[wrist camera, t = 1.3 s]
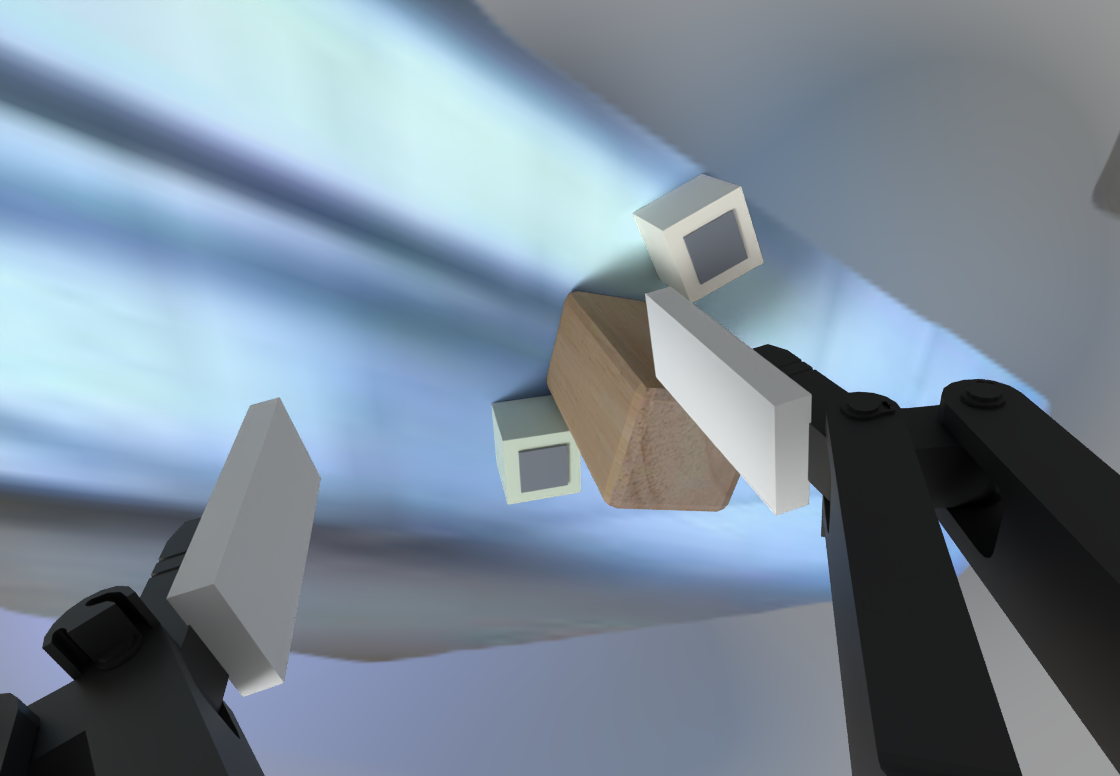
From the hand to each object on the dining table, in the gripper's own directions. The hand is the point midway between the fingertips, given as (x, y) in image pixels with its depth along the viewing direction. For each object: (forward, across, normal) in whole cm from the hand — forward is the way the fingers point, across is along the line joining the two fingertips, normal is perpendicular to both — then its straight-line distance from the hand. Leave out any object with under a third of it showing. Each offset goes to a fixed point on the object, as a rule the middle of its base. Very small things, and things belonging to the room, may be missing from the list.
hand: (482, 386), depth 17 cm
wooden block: (+36, +12, -18) cm, 42 cm away
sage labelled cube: (+36, +3, -25) cm, 44 cm away
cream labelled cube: (+36, +21, -9) cm, 42 cm away
